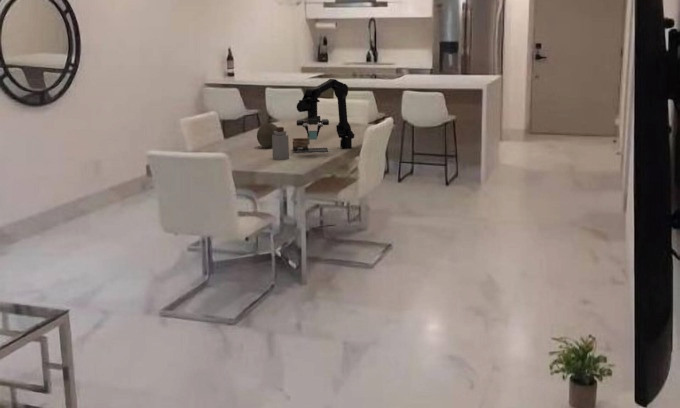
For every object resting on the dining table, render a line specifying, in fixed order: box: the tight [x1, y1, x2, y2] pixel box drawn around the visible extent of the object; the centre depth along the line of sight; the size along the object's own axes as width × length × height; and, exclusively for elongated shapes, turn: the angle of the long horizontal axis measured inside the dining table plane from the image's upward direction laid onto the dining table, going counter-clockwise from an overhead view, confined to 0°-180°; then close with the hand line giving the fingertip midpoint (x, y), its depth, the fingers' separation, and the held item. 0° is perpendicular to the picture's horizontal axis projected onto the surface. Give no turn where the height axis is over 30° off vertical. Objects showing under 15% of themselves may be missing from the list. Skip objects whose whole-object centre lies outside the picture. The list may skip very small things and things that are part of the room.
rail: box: [292, 147, 329, 154], centre depth 454 cm, size 21×11×1 cm, turn 94°
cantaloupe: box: [256, 123, 278, 149], centre depth 467 cm, size 14×14×15 cm
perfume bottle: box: [271, 126, 290, 161], centre depth 430 cm, size 7×7×18 cm
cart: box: [292, 134, 311, 151], centre depth 453 cm, size 10×12×8 cm
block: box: [308, 130, 318, 141], centre depth 439 cm, size 4×4×4 cm
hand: (312, 137), depth 439 cm, fingers closed on block, 4 cm apart
